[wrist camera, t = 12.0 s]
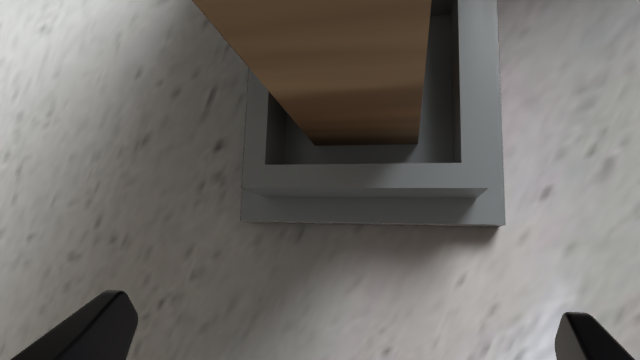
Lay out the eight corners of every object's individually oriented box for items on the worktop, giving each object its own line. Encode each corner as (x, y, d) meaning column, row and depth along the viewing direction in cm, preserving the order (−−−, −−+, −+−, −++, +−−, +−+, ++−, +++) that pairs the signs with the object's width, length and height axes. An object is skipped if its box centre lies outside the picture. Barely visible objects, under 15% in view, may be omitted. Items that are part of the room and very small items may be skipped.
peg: (417, 144, 17) (441, -103, 5) (314, 145, 18) (136, -66, 6) (417, 45, 17) (437, -368, 6) (318, 51, 18) (162, -304, 7)
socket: (499, 226, 17) (523, 219, 13) (249, 222, 19) (213, 214, 15) (491, -16, 18) (510, -77, 15) (261, 3, 20) (231, -47, 17)
